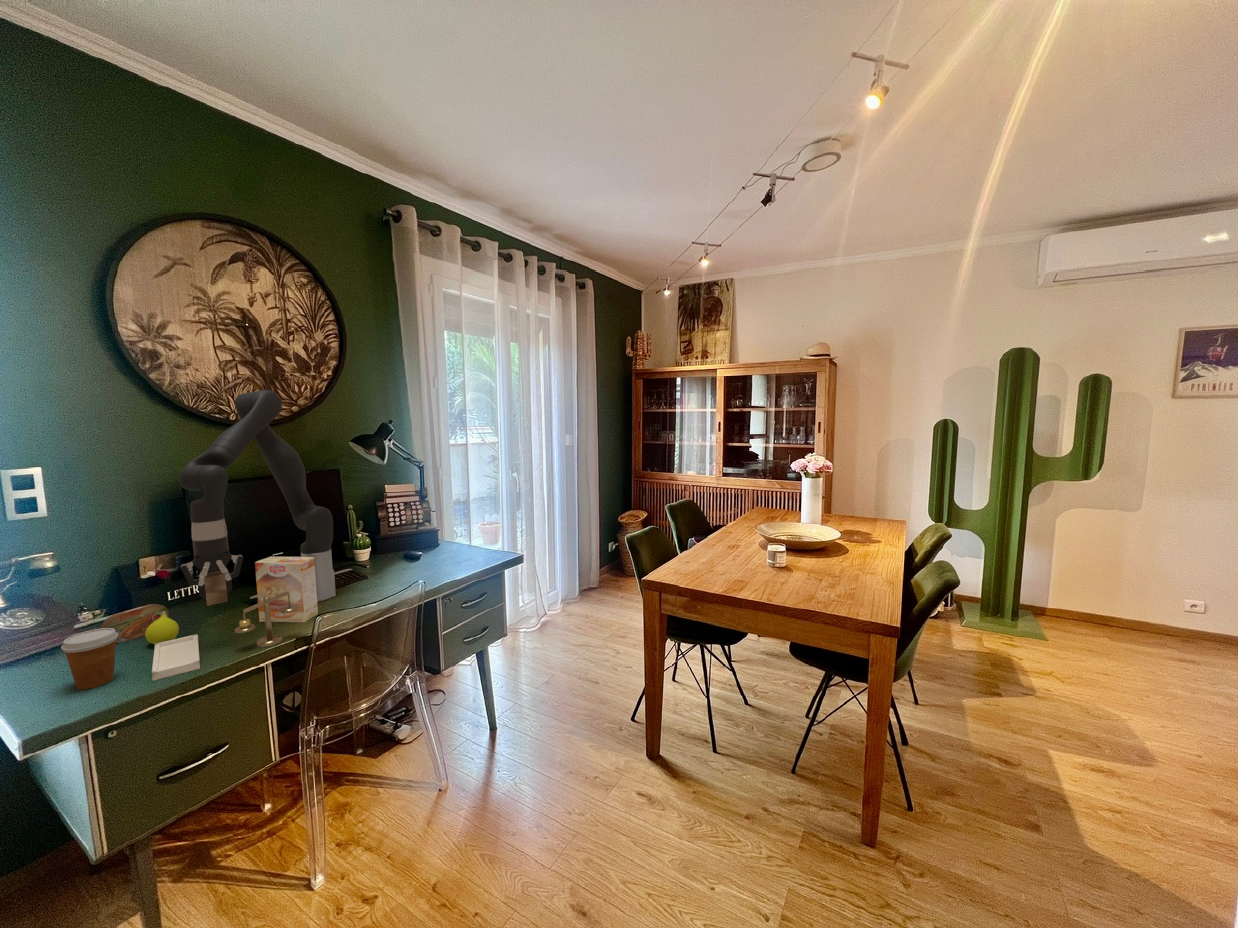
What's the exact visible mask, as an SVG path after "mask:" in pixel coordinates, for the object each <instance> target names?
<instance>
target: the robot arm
mask: <svg viewBox="0 0 1238 928" xmlns="http://www.w3.org/2000/svg"><path fill="white" fill-rule="evenodd" d="M234 406H235V410H236V412H237V414H238V417H239V418H240V420H239V421H237V422H236V423H235V424H233V425H231V426H230V427H228V428H227V429H226V430H224V431H223V432H222V433H220V434H219V435H218V436H217V437H216V438H215V440H213V442H212V443H211V444H210V446H209V447H208V448H207V449H206V451H204V452H203V453H200V454H199V455H197V456H196V457H195V458H193V459H192V460H191V461H189V462H188V463H186V465H184V466H183V467H182V469H181V470H180V472H179V474H178V484H179V485H180V486H181V488H183V489H185V490H187V491H193V492H194V491H195V492H196V491H197V492H199V491H204V495H203V497H202V498H199V499H196V500H192V502H191V503H190V505H189V506H190V507H189V511H190V520H191V530H190V531H191V540H192V547H193V557H194V558H193V559H192V561H190V562H188V563H182V564H181V565H180V569H181V571H182V573H183V575H184V577H185V579H186V581H187V582H188V584H189V586H197V587H198V594H199V596H200V598H202V599H206V591H205V583H204V577H206V575H207V573H212V572H217V571H221V572H222V574H225V579H226V588H227V595H228V594H230V592H232V590H233V584H232V583H233V582H232V580H233V579H235V578H238V577H239V576H240V571H241V568H242V564H243V561H244V557H243V555H242V554H238V555H234V554H232V553H230V550H229V540H228V529H227V524H226V520H225V512H224V511H225V510H224V502H225V501H224V500H225V498H226V497H225V496H226V493H227V492H226V491H227V489H228V483H229V476H228V472H227V471H226V468H229V467H231V466H232V465H233V464H234V463H235V462H236V460H237V459H238V457H239V456H240V455H241V454H242V452H243V451H244V450H245V449H246V447H247V446H248V445H249V444H250V442H251V441H253V440H254V441H255V443H256V445H257V447H258V448H259V451H260V452H261V454H262V456H263V458H264V460H265V462H266V464H267V466H268V468H269V470H270V472H271V474H272V476H273V478H274V479H275V482H276V483H277V485H278V487H279V489H280V491H281V493H282V495H283V497H284V499H285V502H286V503H287V506H288V509H289V511H290V514H291V516H292V517H291V518H292V520H293V523H294V524H295V526H296V527H297V528H298V529H299V530H301V531H304V532H305V541H304V542H302V544H300V557H314V562H315V576H316V592H317V602H323V601H326V600H329V599H331V598H334V597H336V579H335V570H334V568H333V558H332V556H333V555H332V543H333V540H334V520H333V519H334V518H333V514H332V512H331V511H330V510H329V508H327V507H324V506H319V505H315V503H314V501H313V500H312V498H311V497H310V494H309V492H308V490H307V477H306V475H307V474H306V470H305V469H306V467H305V466H304V463H303V461H302V460H301V457H300V455H299V453H298V452H297V450H296V449H295V448H294V447H293V446H292V445H290V444H289V443H288V442H287V441H285V440H284V439H282V438H281V437H280V436H279V435H277V433H276V432H274V430H273V428H271V426H270V423H271V422H272V421H273V420H275V419H276V418H278V416H279V415H280V414H281V412H282V410H283V404H282V399H281V398H280V396H279V395H278V394H277V393H276V392H275V391H272V390H270V389H267V390H266V389H263V390H262V389H261V390H256V391H250V392H244V393H240V394H239V395H237V396H236V397H235V400H234ZM230 561H232V562H233V563H234V568H233V572H231V573H230V572H229V570H228V569H227V565H228V564H229V563H230ZM193 566H194V567H196V568H197V569H198V570H199V571H200V573H199V577H198V578H197V579H195V578H194V576H193V574H192V572H191V571H192V570H193Z"/></svg>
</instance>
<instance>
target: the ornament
mask: <svg viewBox="0 0 1238 928" xmlns="http://www.w3.org/2000/svg"><path fill="white" fill-rule="evenodd" d="M165 612H166V611H163V614H162V616H161V617H160V618H159V619H158V620H156V621H155V622H153V623H152V624H151V625H150V626H149V627H148V628H147V630H146V633H145V635H144V636H145V640H146V641H147V642H149V644H152V645H155V644H156V643H161V642H165V641H170V640H174V639H176V637H177V636H178V635H179V631H180V627H179V624H178V622H176V621H175V620H173V619H172V618H168V617H167V616H166V614H165Z"/></svg>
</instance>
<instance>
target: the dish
mask: <svg viewBox="0 0 1238 928" xmlns="http://www.w3.org/2000/svg"><path fill="white" fill-rule="evenodd" d="M151 667H152V668H151V680H152V682H154V681H157V680H161V679H164V678H165V679H166V678H169V677H173V676H177V675H181V674H184V673H188V672H192V671H195V670H200V669H201V660H200V648H199V636H198V633H197V634H192V635H187V636H184V637H179V638H174V639H173V640H170V641H165V642H161V643H156V644H154V651H153V658H152V666H151Z"/></svg>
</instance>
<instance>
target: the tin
mask: <svg viewBox="0 0 1238 928" xmlns="http://www.w3.org/2000/svg"><path fill="white" fill-rule="evenodd" d="M163 611H166V612H165V614H166V616H167V617H168V618H170V616H171V615H170V611H169V608H167V607H166V606H165V605H162V604H155V603H153V604H151V603H150V604H146V605H142V606H139V607H135V608H132V609H129V610H125V611H122V612H118V613H114V614H111V615H110V616H108V617H107V618H106V619H105V620H104V621H103V622H102V623H101V626H100V629H102V628H112V629H115V631H116V633H118V637H117V639H116V644H120V643H124V642H128V641H131V640H133V639H137V638H140V637H143V636H145V633H146V630H147V628H148V627H149V626H150V625H151V624H152V623H153V622H155V621H156V620H158V619H159V618H160V617H161V616H162V614H163ZM170 619H171V618H170Z"/></svg>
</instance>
